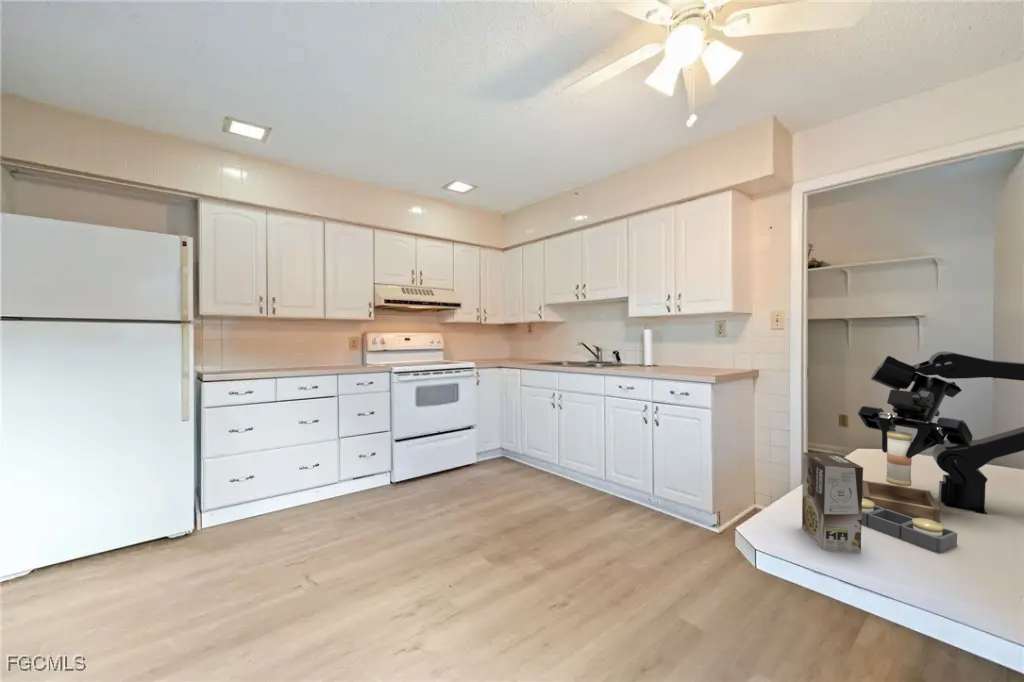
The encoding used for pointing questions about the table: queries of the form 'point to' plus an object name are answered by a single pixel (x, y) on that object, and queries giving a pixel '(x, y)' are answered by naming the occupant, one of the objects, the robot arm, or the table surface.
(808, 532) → the coffee box
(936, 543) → the grey compartment tray
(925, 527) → the fuse
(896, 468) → the cream capped cylinder
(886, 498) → the walnut tray
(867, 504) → the cream domed cylinder
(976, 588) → the table surface
